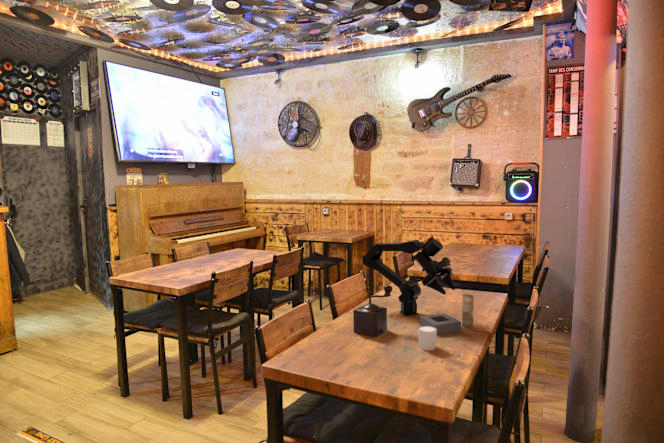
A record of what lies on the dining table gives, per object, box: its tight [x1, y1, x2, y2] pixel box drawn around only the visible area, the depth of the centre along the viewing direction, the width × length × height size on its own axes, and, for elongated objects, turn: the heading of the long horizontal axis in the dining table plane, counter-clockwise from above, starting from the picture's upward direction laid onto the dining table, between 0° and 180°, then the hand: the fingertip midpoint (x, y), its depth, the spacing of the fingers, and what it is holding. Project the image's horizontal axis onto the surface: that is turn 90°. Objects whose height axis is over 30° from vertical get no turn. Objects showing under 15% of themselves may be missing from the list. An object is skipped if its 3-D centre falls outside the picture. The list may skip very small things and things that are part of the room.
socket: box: [419, 312, 462, 336], centre depth 174 cm, size 12×12×4 cm
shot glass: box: [417, 326, 437, 351], centre depth 154 cm, size 7×7×7 cm
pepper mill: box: [352, 284, 393, 338], centre depth 174 cm, size 16×11×18 cm
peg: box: [461, 293, 475, 329], centre depth 175 cm, size 4×4×14 cm
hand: (450, 291), depth 180 cm, fingers open, 9 cm apart
